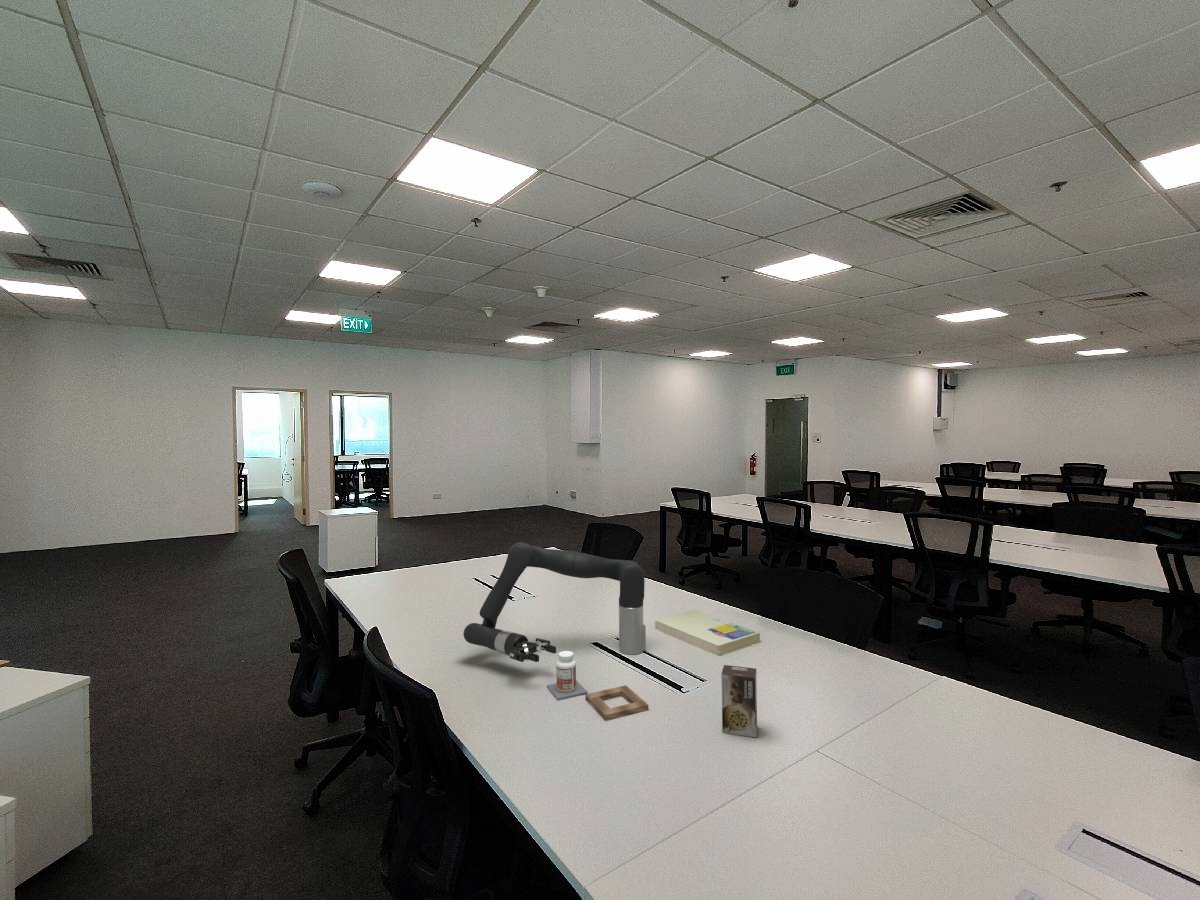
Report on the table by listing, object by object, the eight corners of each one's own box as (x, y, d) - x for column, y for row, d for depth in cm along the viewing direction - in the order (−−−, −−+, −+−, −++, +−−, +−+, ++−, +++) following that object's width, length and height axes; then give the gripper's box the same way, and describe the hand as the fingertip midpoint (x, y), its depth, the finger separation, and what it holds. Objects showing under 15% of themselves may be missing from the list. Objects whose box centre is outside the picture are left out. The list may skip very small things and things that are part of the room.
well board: (626, 690, 169) (626, 685, 169) (648, 709, 156) (648, 704, 156) (585, 699, 163) (585, 694, 163) (605, 720, 150) (605, 715, 150)
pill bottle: (566, 682, 173) (566, 648, 173) (580, 687, 169) (579, 653, 169) (552, 688, 168) (552, 653, 168) (565, 694, 164) (565, 659, 164)
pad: (575, 680, 175) (575, 679, 175) (587, 693, 166) (587, 691, 166) (546, 686, 171) (546, 685, 171) (557, 700, 162) (557, 698, 162)
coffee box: (757, 726, 147) (757, 668, 146) (756, 738, 140) (756, 677, 140) (723, 720, 150) (723, 663, 149) (721, 732, 143) (721, 673, 143)
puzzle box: (695, 619, 238) (654, 630, 224) (695, 609, 238) (654, 619, 224) (761, 644, 208) (718, 658, 195) (761, 632, 208) (718, 645, 195)
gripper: (495, 639, 176) (532, 649, 167) (525, 627, 188) (561, 636, 179) (495, 661, 177) (532, 673, 167) (525, 648, 188) (561, 658, 179)
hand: (547, 654), depth 173 cm, fingers open, 8 cm apart
